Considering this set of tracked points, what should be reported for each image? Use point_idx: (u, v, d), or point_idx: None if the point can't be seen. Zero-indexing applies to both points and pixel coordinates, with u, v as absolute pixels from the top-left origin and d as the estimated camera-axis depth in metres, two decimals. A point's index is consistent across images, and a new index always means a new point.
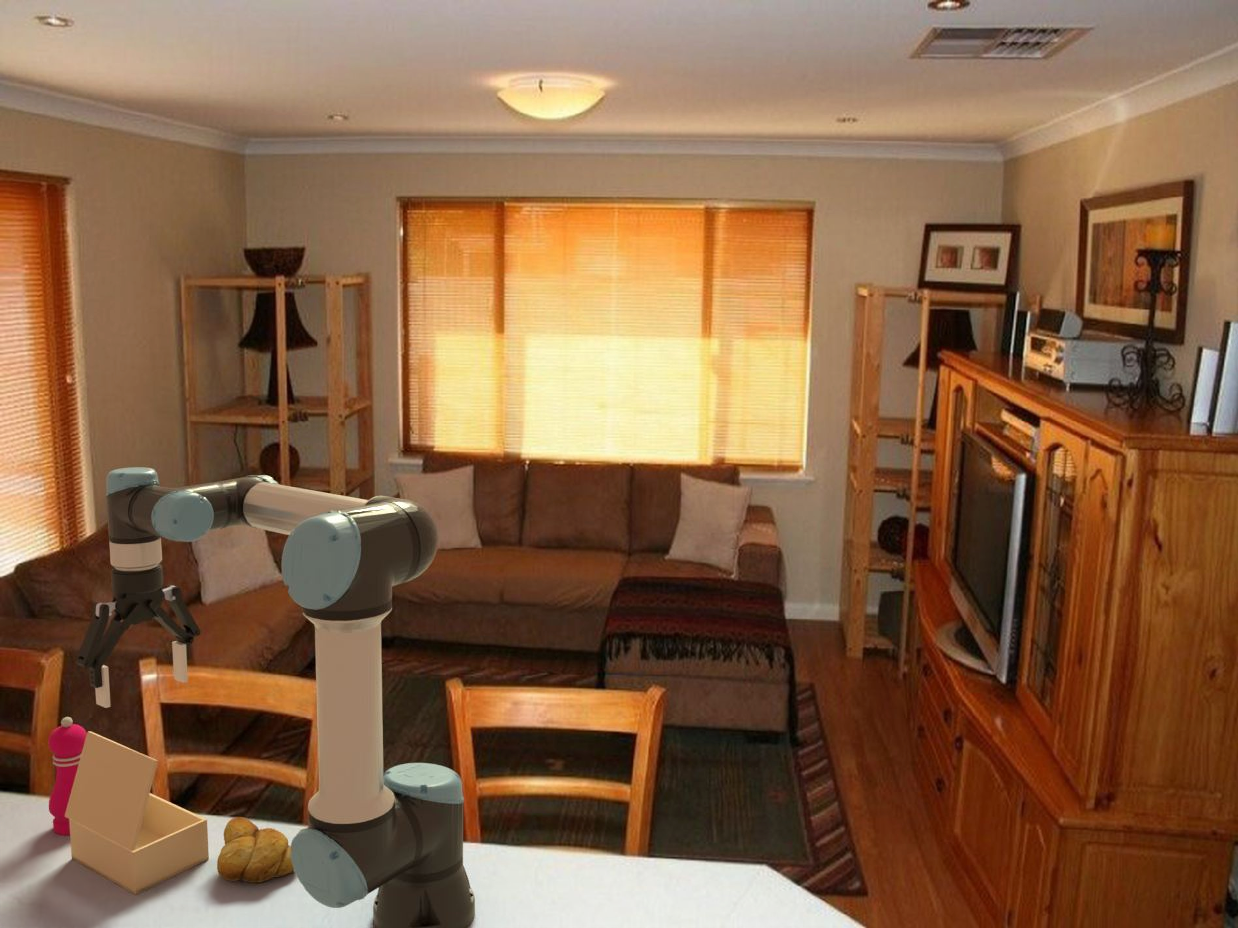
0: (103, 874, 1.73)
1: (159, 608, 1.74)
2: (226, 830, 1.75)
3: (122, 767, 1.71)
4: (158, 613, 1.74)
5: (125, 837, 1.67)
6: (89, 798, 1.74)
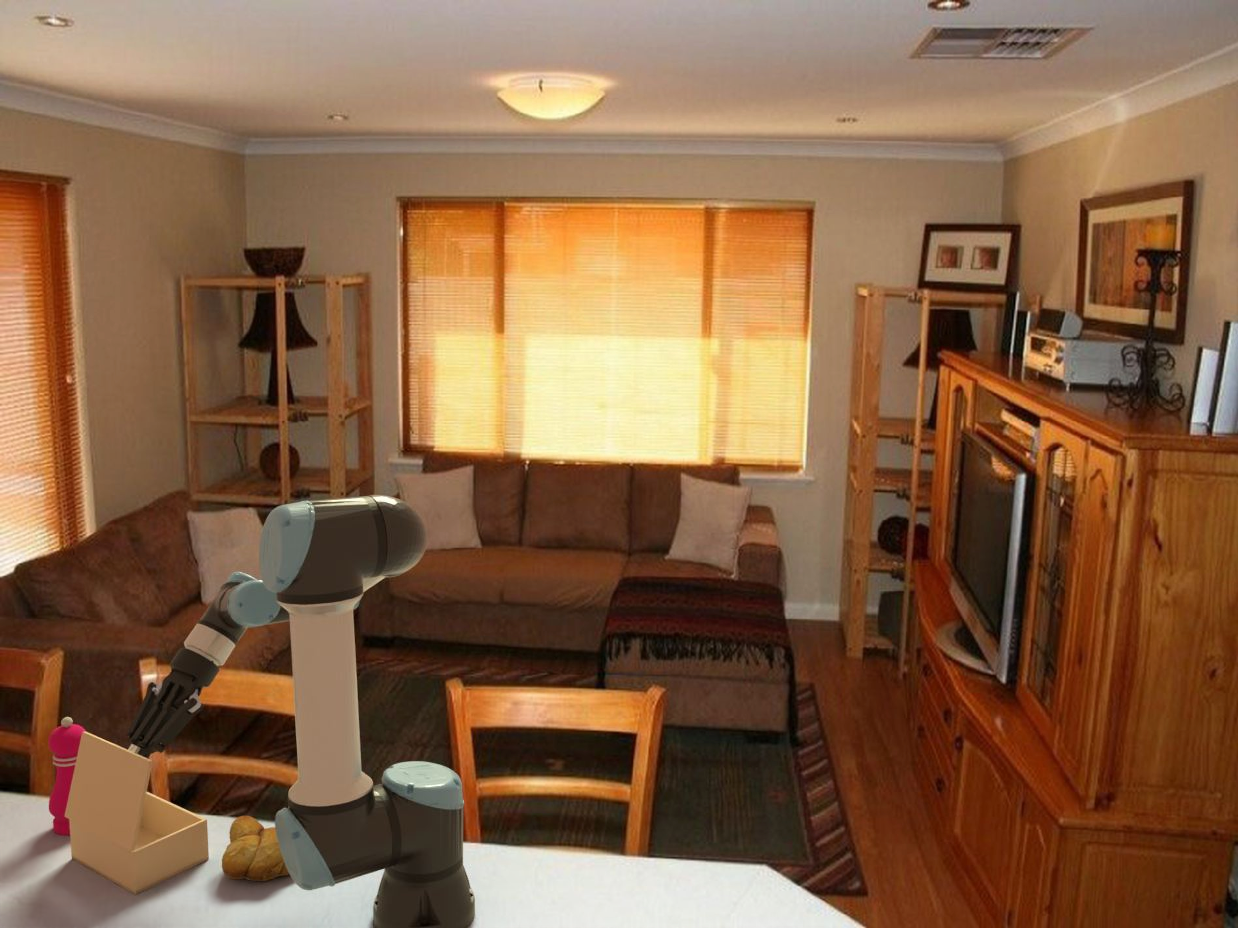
0: (103, 874, 1.73)
1: (172, 696, 1.79)
2: (232, 828, 1.75)
3: (118, 767, 1.71)
4: (168, 697, 1.79)
5: (124, 837, 1.67)
6: (87, 798, 1.74)
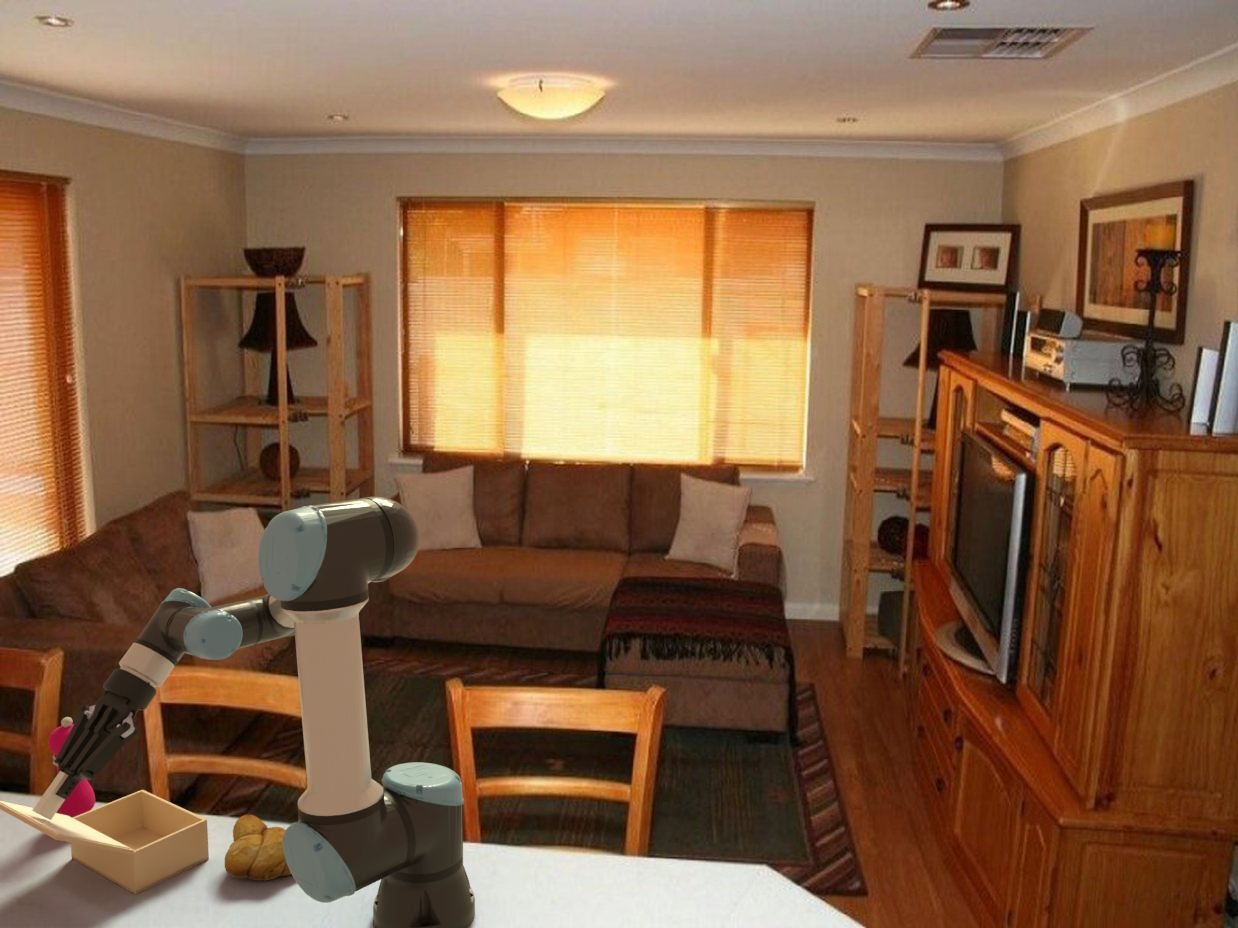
0: (103, 874, 1.73)
1: (104, 720, 1.68)
2: (235, 827, 1.76)
3: None
4: (100, 721, 1.69)
5: None
6: None
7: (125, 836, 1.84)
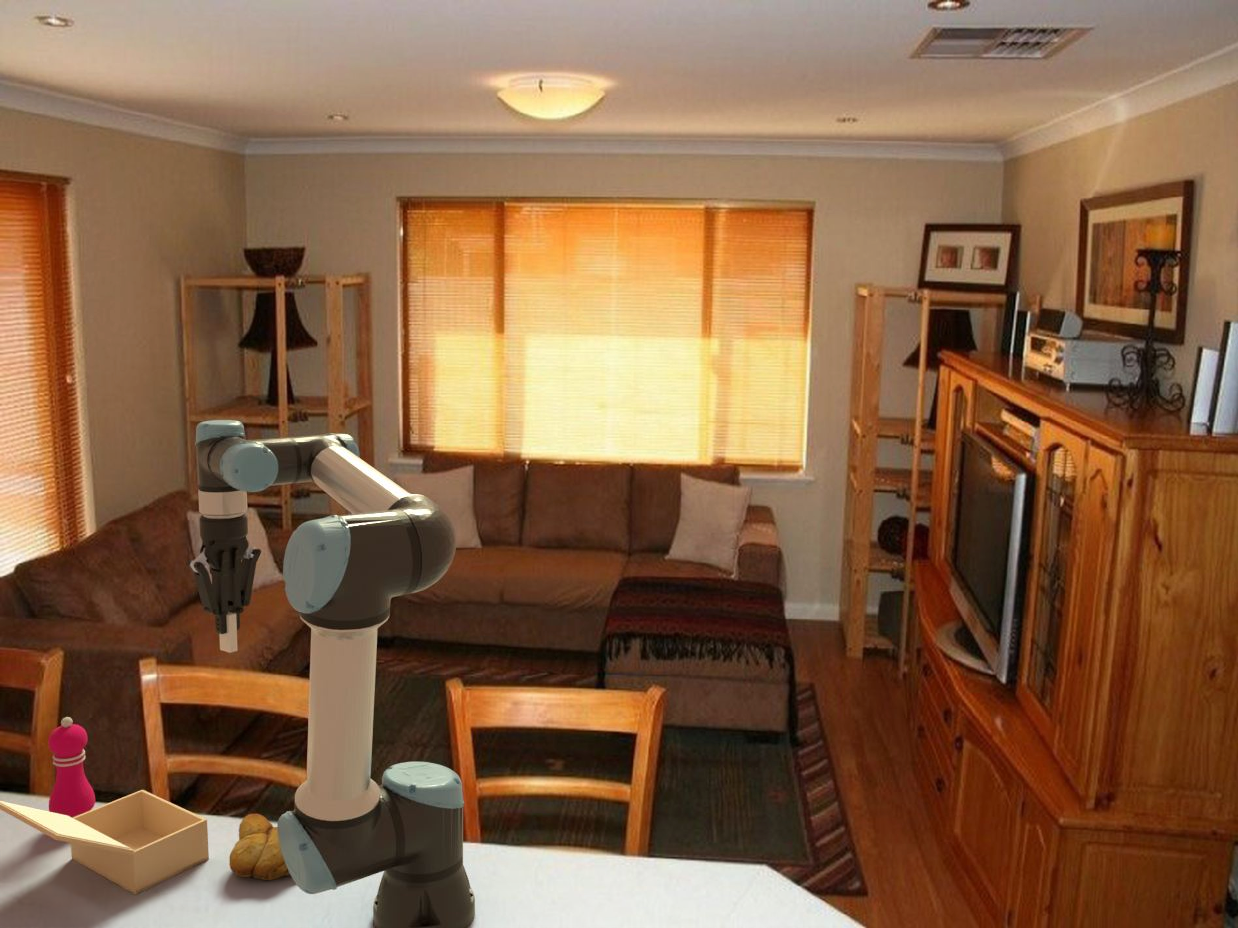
0: (103, 874, 1.73)
1: (239, 560, 1.81)
2: (241, 826, 1.76)
3: None
4: (236, 563, 1.81)
5: None
6: None
7: (125, 836, 1.84)
